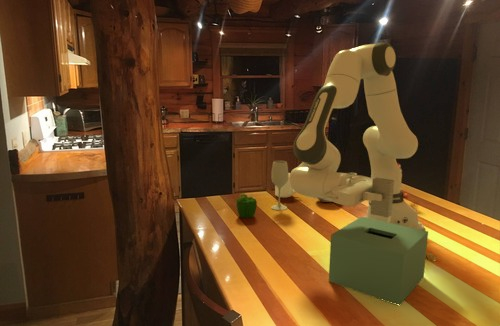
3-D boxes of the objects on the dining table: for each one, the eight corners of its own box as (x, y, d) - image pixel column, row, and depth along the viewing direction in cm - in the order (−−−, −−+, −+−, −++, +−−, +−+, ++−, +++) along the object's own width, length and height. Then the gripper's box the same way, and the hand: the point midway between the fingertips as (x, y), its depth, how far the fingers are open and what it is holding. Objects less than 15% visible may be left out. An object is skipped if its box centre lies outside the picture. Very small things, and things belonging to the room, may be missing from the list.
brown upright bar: (370, 213, 113) (372, 179, 111) (374, 211, 114) (376, 177, 112) (388, 217, 109) (390, 181, 107) (391, 215, 111) (394, 180, 109)
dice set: (436, 263, 128) (436, 257, 127) (418, 260, 129) (419, 254, 129) (435, 257, 132) (436, 251, 132) (418, 254, 134) (419, 249, 134)
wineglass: (290, 207, 182) (291, 161, 178) (282, 211, 176) (283, 164, 171) (275, 204, 186) (276, 159, 182) (267, 208, 180) (268, 162, 175)
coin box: (328, 281, 114) (331, 234, 111) (358, 258, 129) (361, 216, 127) (399, 306, 102) (404, 254, 99) (423, 277, 117) (428, 231, 114)
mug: (297, 199, 195) (298, 177, 192) (273, 197, 198) (273, 175, 196) (300, 194, 203) (301, 173, 201) (277, 192, 206) (277, 172, 204)
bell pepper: (257, 213, 172) (257, 191, 170) (255, 220, 164) (256, 196, 162) (237, 213, 173) (237, 190, 171) (235, 219, 165) (235, 195, 163)
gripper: (322, 184, 110) (370, 193, 102) (354, 171, 126) (399, 178, 117) (321, 206, 112) (369, 216, 103) (353, 191, 127) (397, 199, 119)
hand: (385, 196), depth 110 cm, fingers closed on brown upright bar, 2 cm apart
